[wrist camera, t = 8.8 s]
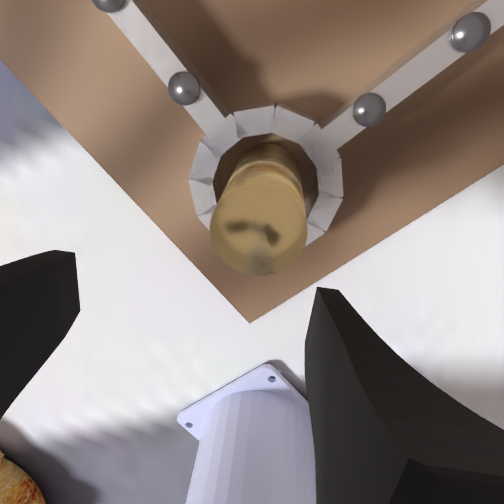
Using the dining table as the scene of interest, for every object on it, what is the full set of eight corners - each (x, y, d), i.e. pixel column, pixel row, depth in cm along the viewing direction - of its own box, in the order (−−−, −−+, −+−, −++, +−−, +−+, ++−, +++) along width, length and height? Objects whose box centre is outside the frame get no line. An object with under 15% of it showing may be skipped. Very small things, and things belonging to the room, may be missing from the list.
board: (627, 78, 16) (639, 79, 15) (250, 317, 22) (249, 323, 22) (358, -576, 10) (362, -612, 10) (-44, 4, 17) (-55, 2, 16)
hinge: (532, 71, 15) (570, 72, 13) (257, 261, 20) (253, 283, 18) (330, -343, 11) (340, -432, 9) (42, 16, 16) (7, 9, 14)
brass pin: (313, 180, 18) (327, 242, 12) (262, 217, 19) (250, 291, 13) (274, 128, 17) (266, 164, 11) (223, 169, 18) (189, 223, 12)
